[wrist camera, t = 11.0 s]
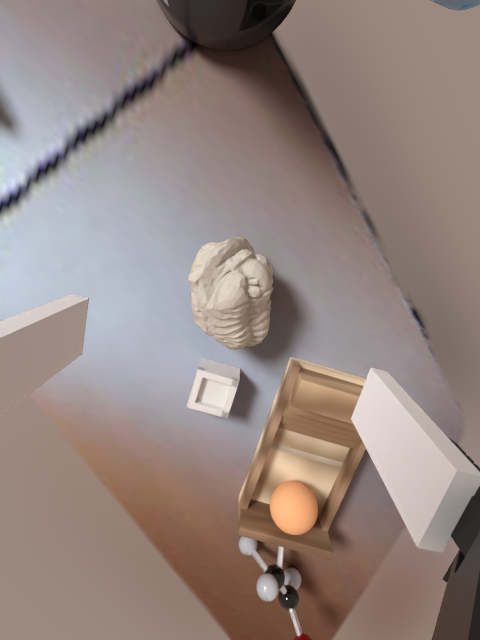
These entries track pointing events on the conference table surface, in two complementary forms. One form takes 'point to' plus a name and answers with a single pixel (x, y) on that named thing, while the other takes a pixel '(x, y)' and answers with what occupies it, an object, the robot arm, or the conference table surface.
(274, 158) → the conference table surface
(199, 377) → the white open box
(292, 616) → the molecular model
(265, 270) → the fossil replica
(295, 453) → the wooden stepped tray
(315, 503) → the ball
